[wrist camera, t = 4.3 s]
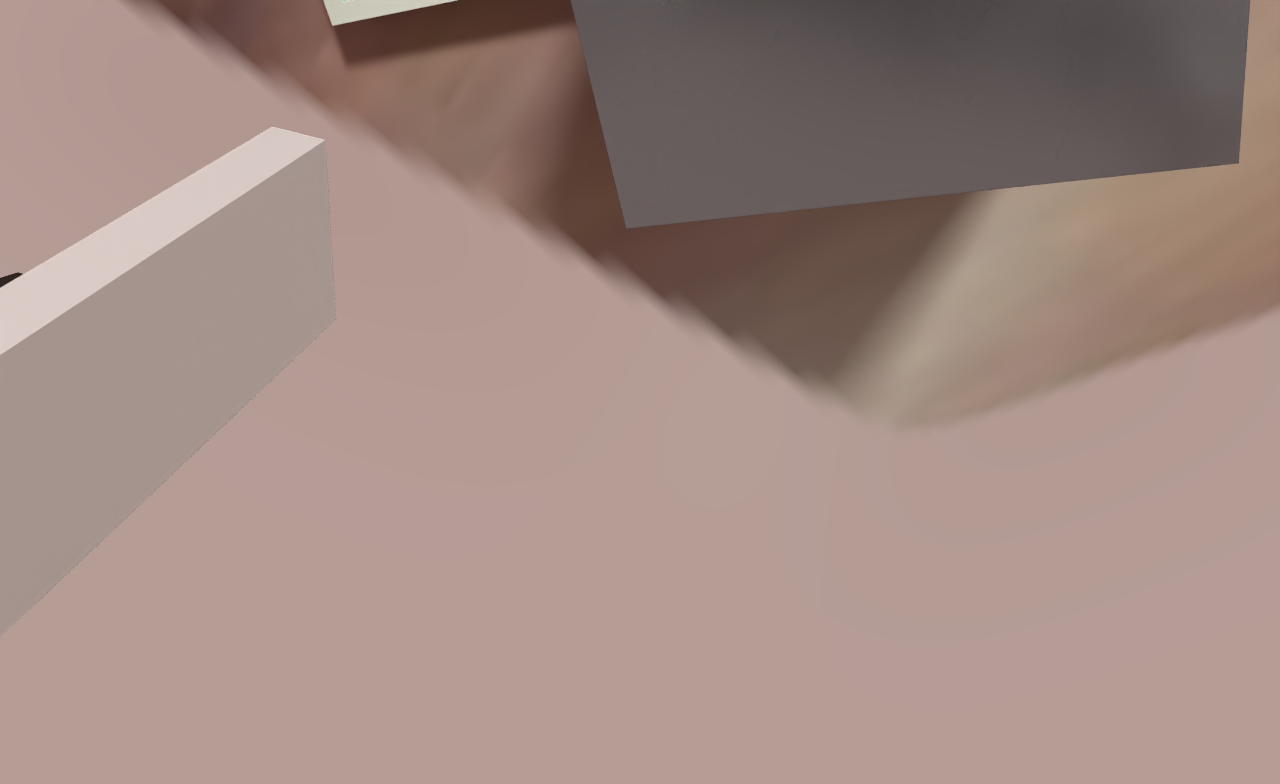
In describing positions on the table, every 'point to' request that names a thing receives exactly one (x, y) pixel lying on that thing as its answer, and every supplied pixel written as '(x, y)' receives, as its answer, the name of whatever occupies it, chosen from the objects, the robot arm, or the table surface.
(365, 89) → the table surface
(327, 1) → the tray
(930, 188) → the box
